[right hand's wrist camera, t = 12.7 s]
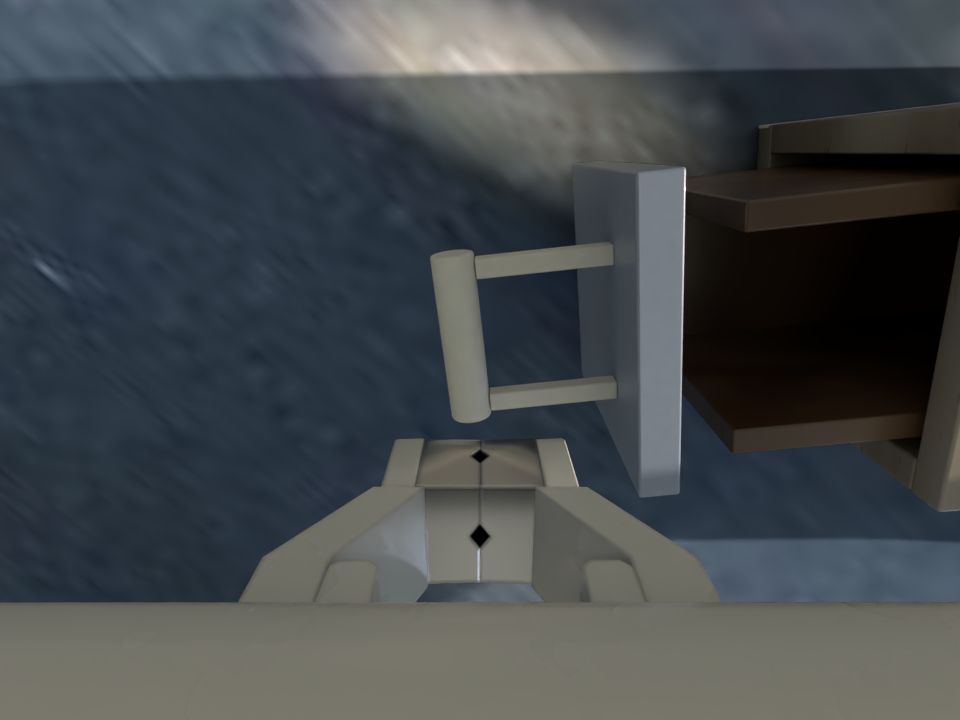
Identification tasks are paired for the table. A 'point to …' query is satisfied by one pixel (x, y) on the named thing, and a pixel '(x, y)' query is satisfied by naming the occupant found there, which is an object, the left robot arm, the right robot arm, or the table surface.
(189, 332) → the table surface
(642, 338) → the drawer
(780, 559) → the table surface
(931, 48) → the table surface
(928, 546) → the table surface
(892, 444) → the cabinet
